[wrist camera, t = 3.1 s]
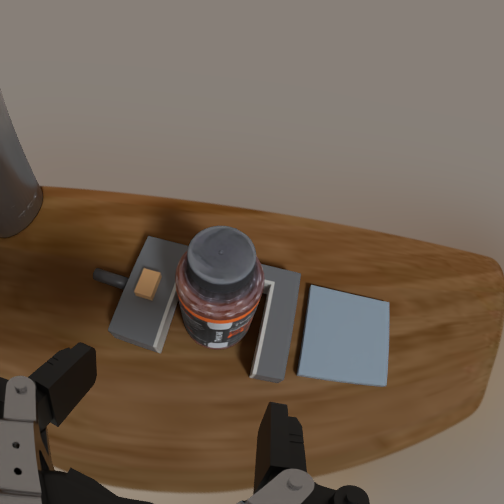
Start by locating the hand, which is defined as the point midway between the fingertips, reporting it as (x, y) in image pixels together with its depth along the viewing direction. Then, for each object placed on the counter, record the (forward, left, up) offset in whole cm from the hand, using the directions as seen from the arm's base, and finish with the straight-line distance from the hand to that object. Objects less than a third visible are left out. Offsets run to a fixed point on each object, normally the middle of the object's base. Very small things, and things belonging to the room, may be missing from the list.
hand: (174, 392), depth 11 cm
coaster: (+13, +9, -12) cm, 20 cm away
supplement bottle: (0, +8, -13) cm, 15 cm away
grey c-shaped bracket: (-3, +9, -12) cm, 15 cm away
